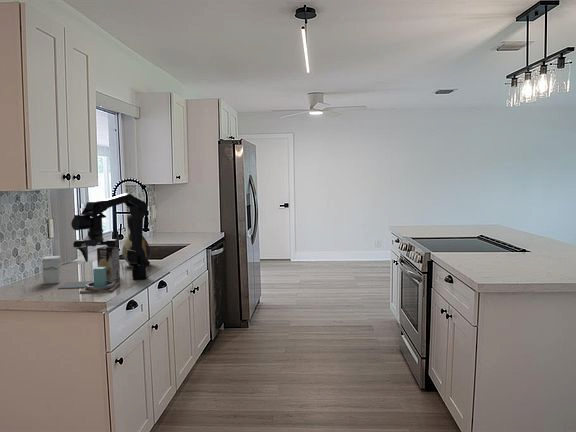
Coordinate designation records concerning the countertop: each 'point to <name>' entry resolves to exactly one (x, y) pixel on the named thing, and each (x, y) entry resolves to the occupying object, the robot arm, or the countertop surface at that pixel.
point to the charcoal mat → (74, 285)
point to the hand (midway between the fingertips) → (97, 261)
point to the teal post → (99, 276)
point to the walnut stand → (99, 290)
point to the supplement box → (51, 269)
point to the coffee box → (109, 262)
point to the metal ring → (91, 286)
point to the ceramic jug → (128, 243)
